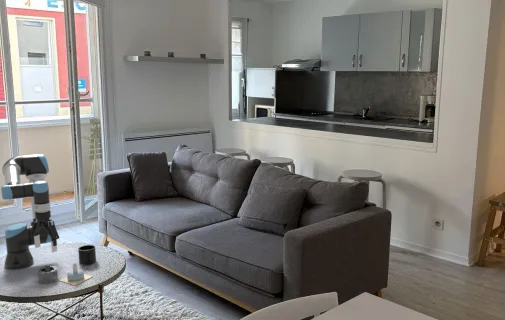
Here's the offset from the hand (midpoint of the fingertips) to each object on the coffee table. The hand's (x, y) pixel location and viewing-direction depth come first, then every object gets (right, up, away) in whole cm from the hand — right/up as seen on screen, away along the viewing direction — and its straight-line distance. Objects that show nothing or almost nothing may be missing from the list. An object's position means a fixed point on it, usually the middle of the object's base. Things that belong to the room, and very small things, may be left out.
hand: (46, 249), depth 257 cm
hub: (+14, -17, +4) cm, 23 cm away
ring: (0, -17, +3) cm, 17 cm away
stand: (0, -17, +3) cm, 17 cm away
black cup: (+14, -13, +26) cm, 32 cm away
